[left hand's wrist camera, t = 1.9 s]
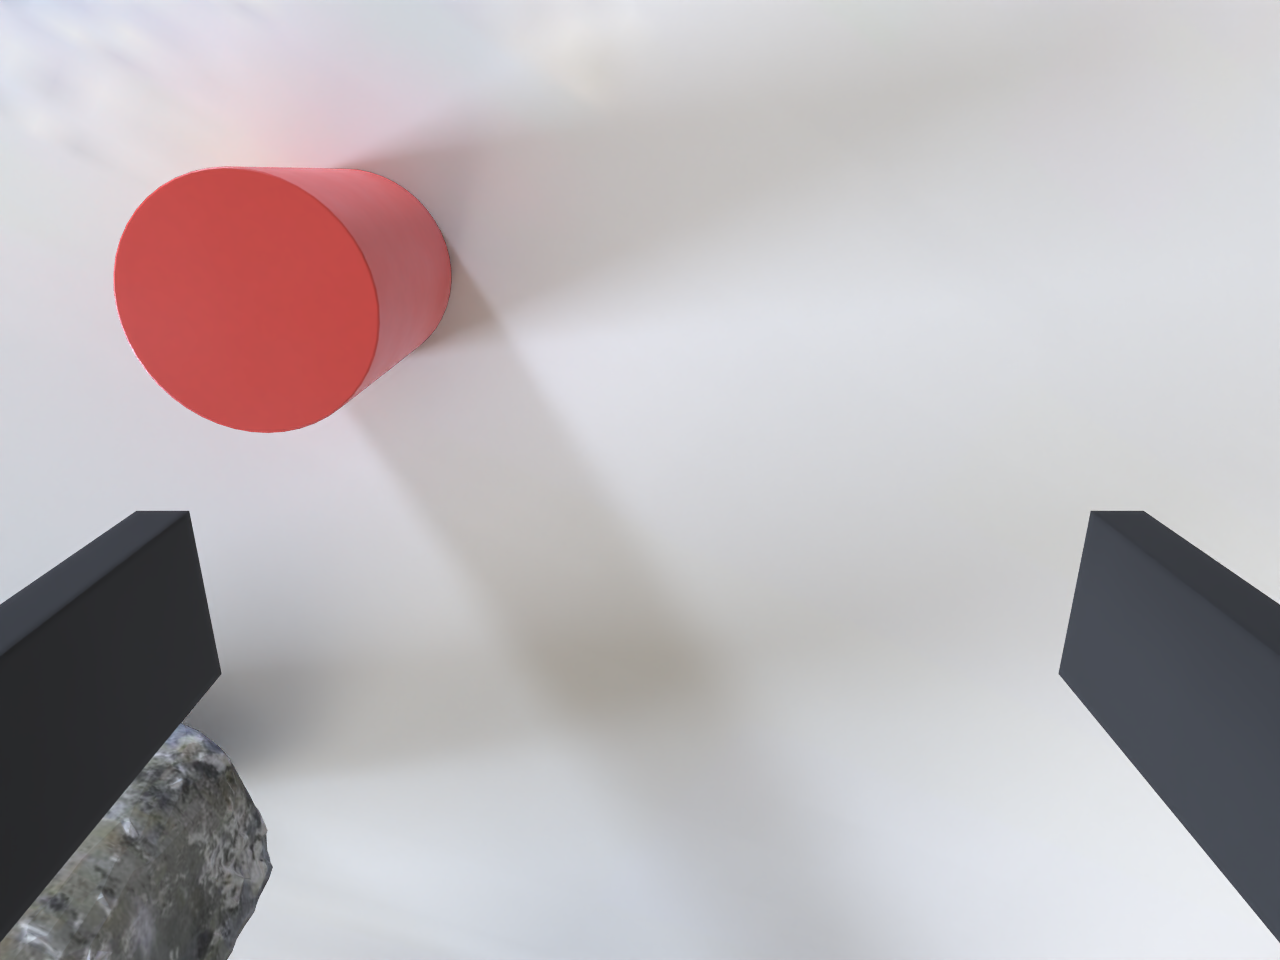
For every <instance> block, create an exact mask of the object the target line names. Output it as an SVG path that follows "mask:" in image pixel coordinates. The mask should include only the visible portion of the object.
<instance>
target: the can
mask: <svg viewBox="0 0 1280 960" xmlns="http://www.w3.org/2000/svg"><path fill="white" fill-rule="evenodd" d="M450 289H451V265H450V258H449V254H448V250H447V247H446V243H445V241H444V238H443V236H442V233H441V231H440V229H439V228H438V226H437V224H436V222H435V220H434V219H433V218H432V216H431V215H430V213H429V212H428V211H427V209H426V208H425V207H424V206H423V205H422V204H421V203H420V202H419V201H418V200H417V199H416V198H415V197H414V196H413V195H412V194H411V193H409V192H408V191H407V190H406V189H404V188H403V187H401V186H400V185H398V184H397V183H395V182H393V181H391V180H389V179H387V178H385V177H383V176H380V175H377V174H374V173H371V172H366V171H362V170H355V169H328V168H276V167H213V168H205V169H201V170H196V171H192V172H189V173H186V174H184V175H181V176H179V177H176V178H174V179H172V180H171V181H169V182H167V183H165V184H164V185H162V186H160V187H159V188H158V189H157V190H155V191H154V192H153V193H152V194H150V195H149V196H148V197H147V198H146V199H145V200H144V201H143V203H142V204H141V205H140V206H139V207H138V208H137V209H136V211H135V212H134V214H133V215H132V217H131V218H130V220H129V222H128V223H127V225H126V227H125V230H124V232H123V234H122V236H121V239H120V242H119V246H118V249H117V253H116V258H115V266H114V295H115V302H116V308H117V312H118V315H119V319H120V323H121V326H122V328H123V331H124V333H125V335H126V338H127V340H128V342H129V344H130V346H131V348H132V350H133V352H134V353H135V355H136V357H137V358H138V360H139V361H140V363H141V364H142V366H143V367H144V368H145V370H146V371H147V372H148V374H149V375H150V376H151V377H152V378H153V379H154V380H155V381H156V383H157V384H158V385H159V386H160V387H161V388H162V389H163V390H165V391H166V392H167V393H168V394H169V395H170V396H171V397H172V398H174V399H175V400H176V401H178V402H179V403H180V404H182V405H183V406H185V407H186V408H188V409H189V410H191V411H193V412H194V413H196V414H198V415H200V416H201V417H204V418H206V419H208V420H211V421H213V422H215V423H217V424H220V425H224V426H227V427H230V428H234V429H238V430H244V431H249V432H262V433H273V432H285V431H290V430H295V429H300V428H303V427H306V426H309V425H312V424H314V423H316V422H318V421H320V420H322V419H324V418H326V417H328V416H330V415H331V414H332V413H334V412H335V411H337V410H338V409H339V408H341V407H342V406H343V405H345V404H346V403H347V402H349V401H350V400H351V399H352V398H354V397H355V396H356V395H357V394H359V393H360V392H361V391H363V390H364V389H365V388H366V387H368V386H369V385H370V384H371V383H373V382H374V381H375V380H377V379H378V378H379V377H380V376H382V375H383V374H384V373H386V372H387V371H388V370H389V369H391V368H392V367H393V366H394V365H396V364H397V363H398V362H400V361H401V360H402V359H403V358H405V357H406V356H407V355H408V354H410V353H411V352H412V351H414V350H415V349H416V348H417V347H419V346H420V345H421V344H422V343H423V342H424V341H425V340H426V339H427V338H429V336H430V335H431V334H432V333H433V331H434V330H435V329H436V327H437V326H438V324H439V322H440V321H441V319H442V317H443V315H444V312H445V310H446V307H447V304H448V300H449V296H450Z"/></svg>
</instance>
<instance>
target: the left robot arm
mask: <svg viewBox="0 0 1280 960" xmlns="http://www.w3.org/2000/svg"><path fill="white" fill-rule="evenodd" d="M220 675H221V669H220V664H219V659H218V654H217V649H216V644H215V639H214V634H213V629H212V624H211V619H210V614H209V609H208V604H207V599H206V594H205V589H204V584H203V579H202V574H201V568H200V563H199V558H198V553H197V548H196V543H195V538H194V533H193V528H192V523H191V518H190V513H189V511H136V512H134V513H133V514H131V515H130V516H128V517H127V518H126V519H124V520H123V521H121V522H120V523H118V524H117V525H115V526H114V527H112V528H111V529H110V530H108V531H107V532H105V533H104V534H102V535H101V536H99V537H98V538H96V539H95V540H94V541H92V542H91V543H89V544H88V545H86V546H85V547H83V548H82V549H80V550H79V551H78V552H76V553H75V554H73V555H72V556H70V557H69V558H67V559H66V560H65V561H63V562H62V563H60V564H59V565H57V566H56V567H54V568H53V569H51V570H50V571H49V572H47V573H46V574H44V575H43V576H41V577H40V578H38V579H37V580H35V581H34V582H33V583H31V584H30V585H28V586H27V587H25V588H24V589H22V590H21V591H19V592H18V593H17V594H15V595H14V596H12V597H11V598H9V599H8V600H6V601H5V602H3V603H2V604H1V605H0V942H1V941H2V940H3V939H4V937H5V936H6V935H7V934H8V933H9V931H10V930H11V929H12V928H13V927H14V925H15V924H16V923H17V922H18V920H19V919H20V918H21V917H22V916H23V914H24V913H25V912H26V911H27V909H28V908H29V907H30V906H31V905H32V903H33V902H34V901H35V900H36V899H37V897H38V896H39V895H40V894H41V892H42V891H43V890H44V889H45V888H46V886H47V885H48V884H49V883H50V882H51V880H52V879H53V878H54V877H55V875H56V874H57V873H58V872H59V871H60V869H61V868H62V867H63V866H64V864H65V863H66V862H67V861H68V860H69V858H70V857H71V856H72V855H73V854H74V852H75V851H76V850H77V849H78V847H79V846H80V845H81V844H82V843H83V841H84V840H85V839H86V838H87V837H88V835H89V834H90V833H91V832H92V830H93V829H94V828H95V827H96V826H97V824H98V823H99V822H100V821H101V819H102V818H103V817H104V816H105V815H106V813H107V812H108V811H109V810H110V809H111V807H112V806H113V805H114V804H115V802H116V801H117V800H118V799H119V798H120V796H121V795H122V794H123V793H124V792H125V790H126V789H127V788H128V787H129V785H130V784H131V783H132V782H133V781H134V779H135V778H136V777H137V776H138V774H139V773H140V772H141V771H142V770H143V768H144V767H145V766H146V765H147V764H148V762H149V761H150V760H151V759H152V757H153V756H154V755H155V754H156V753H157V751H158V750H159V749H160V748H161V747H162V745H163V744H164V743H165V742H166V740H167V739H168V738H169V737H170V736H171V734H172V733H173V732H174V731H175V730H176V728H177V727H178V726H179V725H180V723H181V722H182V721H183V720H184V719H185V717H186V716H187V715H188V714H189V712H190V711H191V710H192V709H193V708H194V706H195V705H196V704H197V703H198V702H199V700H200V699H201V698H202V697H203V695H204V694H205V693H206V692H207V691H208V689H209V688H210V687H211V686H212V685H213V683H214V682H215V681H216V680H217V678H218V677H219V676H220ZM1059 675H1060V676H1061V677H1062V678H1063V680H1064V681H1065V682H1066V683H1067V685H1068V686H1069V687H1070V688H1071V689H1072V691H1073V692H1074V693H1075V694H1076V695H1077V697H1078V698H1079V699H1080V700H1081V702H1082V703H1083V704H1084V705H1085V706H1086V708H1087V709H1088V710H1089V711H1090V712H1091V714H1092V715H1093V716H1094V717H1095V719H1096V720H1097V721H1098V722H1099V723H1100V725H1101V726H1102V727H1103V728H1104V730H1105V731H1106V732H1107V733H1108V734H1109V736H1110V737H1111V738H1112V739H1113V740H1114V742H1115V743H1116V744H1117V745H1118V747H1119V748H1120V749H1121V750H1122V751H1123V753H1124V754H1125V755H1126V756H1127V757H1128V759H1129V760H1130V761H1131V762H1132V764H1133V765H1134V766H1135V767H1136V768H1137V770H1138V771H1139V772H1140V773H1141V774H1142V776H1143V777H1144V778H1145V779H1146V781H1147V782H1148V783H1149V784H1150V785H1151V787H1152V788H1153V789H1154V790H1155V792H1156V793H1157V794H1158V795H1159V796H1160V798H1161V799H1162V800H1163V801H1164V802H1165V804H1166V805H1167V806H1168V807H1169V809H1170V810H1171V811H1172V812H1173V813H1174V815H1175V816H1176V817H1177V818H1178V819H1179V821H1180V822H1181V823H1182V824H1183V826H1184V827H1185V828H1186V829H1187V830H1188V832H1189V833H1190V834H1191V835H1192V837H1193V838H1194V839H1195V840H1196V841H1197V843H1198V844H1199V845H1200V846H1201V847H1202V849H1203V850H1204V851H1205V852H1206V854H1207V855H1208V856H1209V857H1210V858H1211V860H1212V861H1213V862H1214V863H1215V864H1216V866H1217V867H1218V868H1219V869H1220V871H1221V872H1222V873H1223V874H1224V875H1225V877H1226V878H1227V879H1228V880H1229V882H1230V883H1231V884H1232V885H1233V886H1234V888H1235V889H1236V890H1237V891H1238V892H1239V894H1240V895H1241V896H1242V897H1243V899H1244V900H1245V901H1246V902H1247V903H1248V905H1249V906H1250V907H1251V908H1252V909H1253V911H1254V912H1255V913H1256V914H1257V916H1258V917H1259V918H1260V919H1261V920H1262V922H1263V923H1264V924H1265V925H1266V927H1267V928H1268V929H1269V930H1270V931H1271V933H1272V934H1273V935H1274V936H1275V937H1276V939H1277V940H1278V941H1279V942H1280V605H1279V604H1278V603H1277V602H1275V601H1274V600H1272V599H1271V598H1269V597H1268V596H1266V595H1265V594H1263V593H1262V592H1261V591H1259V590H1258V589H1256V588H1255V587H1253V586H1252V585H1250V584H1249V583H1247V582H1246V581H1245V580H1243V579H1242V578H1240V577H1239V576H1237V575H1236V574H1234V573H1233V572H1231V571H1230V570H1229V569H1227V568H1226V567H1224V566H1223V565H1221V564H1220V563H1218V562H1217V561H1215V560H1214V559H1213V558H1211V557H1210V556H1208V555H1207V554H1205V553H1204V552H1202V551H1201V550H1199V549H1198V548H1197V547H1195V546H1194V545H1192V544H1191V543H1189V542H1188V541H1186V540H1185V539H1184V538H1182V537H1181V536H1179V535H1178V534H1176V533H1175V532H1173V531H1172V530H1170V529H1169V528H1168V527H1166V526H1165V525H1163V524H1162V523H1160V522H1159V521H1157V520H1156V519H1154V518H1153V517H1152V516H1150V515H1149V514H1147V513H1146V512H1144V511H1091V513H1090V518H1089V523H1088V528H1087V533H1086V538H1085V543H1084V548H1083V553H1082V558H1081V563H1080V568H1079V573H1078V579H1077V584H1076V589H1075V594H1074V599H1073V604H1072V609H1071V614H1070V619H1069V624H1068V629H1067V634H1066V639H1065V644H1064V649H1063V654H1062V659H1061V664H1060V669H1059Z"/></svg>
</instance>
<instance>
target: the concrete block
mask: <svg viewBox="0 0 1280 960" xmlns="http://www.w3.org/2000/svg"><path fill="white" fill-rule="evenodd" d="M266 833H267V828H266V826H265V823H264V821H263V819H262V816H261V814H260V812H259V810H258V809H257V808H256V807H255V805H254V803H253V801H252V799H251V797H250V795H249V793H248V791H247V790H246V788H245V786H244V785H243V783H242V781H241V779H240V777H239V775H238V773H237V772H236V770H235V768H234V766H233V764H232V762H231V760H230V759H229V757H228V756H227V755H226V754H225V753H224V752H223V751H222V750H221V748H220V747H219V746H218V745H216V744H215V743H214V742H212V741H211V740H210V739H209V738H207V737H206V736H205V735H203V734H202V733H200V732H199V731H198V730H195V729H193V728H190V727H188V726H185V725H183V724H181V723H180V725H179V726H178V727H177V728H176V730H175V731H174V732H173V733H172V734H171V736H170V737H169V738H168V739H167V740H166V742H165V743H164V744H163V745H162V747H161V748H160V749H159V750H158V751H157V753H156V754H155V755H154V756H153V757H152V759H151V760H150V761H149V762H148V764H147V765H146V766H145V767H144V768H143V770H142V771H141V772H140V773H139V774H138V776H137V777H136V778H135V779H134V781H133V782H132V783H131V784H130V785H129V787H128V788H127V789H126V790H125V792H124V793H123V794H122V795H121V796H120V798H119V799H118V800H117V801H116V802H115V804H114V805H113V806H112V807H111V809H110V810H109V811H108V812H107V813H106V815H105V816H104V817H103V818H102V819H101V821H100V822H99V823H98V824H97V826H96V827H95V828H94V829H93V830H92V832H91V833H90V834H89V835H88V837H87V838H86V839H85V840H84V841H83V843H82V844H81V845H80V846H79V847H78V849H77V850H76V851H75V852H74V854H73V855H72V856H71V857H70V858H69V860H68V861H67V862H66V863H65V864H64V866H63V867H62V868H61V869H60V871H59V872H58V873H57V874H56V875H55V877H54V878H53V879H52V880H51V882H50V883H49V884H48V885H47V886H46V888H45V889H44V890H43V891H42V892H41V894H40V895H39V896H38V897H37V899H36V900H35V901H34V902H33V903H32V905H31V906H30V907H29V908H28V909H27V911H26V912H25V913H24V914H23V916H22V917H21V918H20V919H19V920H18V922H17V923H16V924H15V925H14V927H13V928H12V929H11V930H10V931H9V933H8V934H7V935H6V936H5V937H4V939H3V940H2V941H1V942H0V960H227V959H228V957H229V956H230V954H231V953H232V951H233V948H234V945H235V942H236V939H237V937H238V936H239V934H240V933H241V931H242V929H243V928H244V926H245V925H246V923H247V922H248V920H249V919H250V917H251V916H252V914H253V913H254V911H255V908H256V904H257V902H258V899H259V897H260V895H261V893H262V891H263V889H264V887H265V885H266V883H267V881H268V879H269V877H270V874H271V871H272V868H273V867H272V865H271V863H270V857H269V855H268V852H267V840H266Z"/></svg>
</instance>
